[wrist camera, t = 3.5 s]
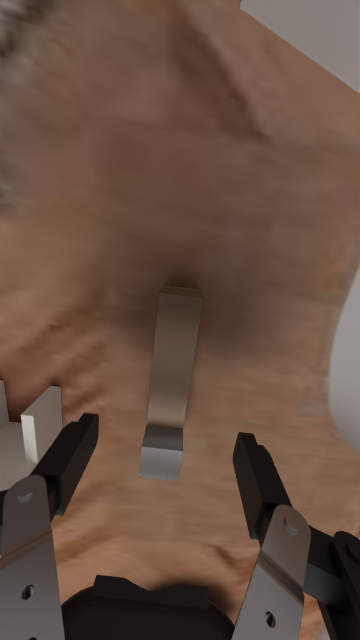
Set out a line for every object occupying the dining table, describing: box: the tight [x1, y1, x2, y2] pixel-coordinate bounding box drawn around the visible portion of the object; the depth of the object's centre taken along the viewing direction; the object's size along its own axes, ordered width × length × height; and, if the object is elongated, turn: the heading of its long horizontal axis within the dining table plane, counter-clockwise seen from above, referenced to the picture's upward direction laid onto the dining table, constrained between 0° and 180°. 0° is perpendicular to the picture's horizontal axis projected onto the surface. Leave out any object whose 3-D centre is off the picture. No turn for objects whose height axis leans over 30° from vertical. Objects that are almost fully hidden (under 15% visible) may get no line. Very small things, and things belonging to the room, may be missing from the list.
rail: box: [139, 285, 204, 481], centre depth 17 cm, size 14×3×6 cm, turn 173°
